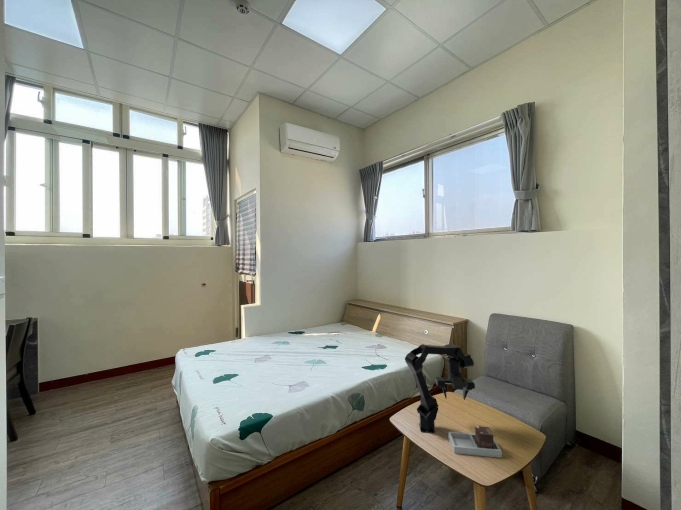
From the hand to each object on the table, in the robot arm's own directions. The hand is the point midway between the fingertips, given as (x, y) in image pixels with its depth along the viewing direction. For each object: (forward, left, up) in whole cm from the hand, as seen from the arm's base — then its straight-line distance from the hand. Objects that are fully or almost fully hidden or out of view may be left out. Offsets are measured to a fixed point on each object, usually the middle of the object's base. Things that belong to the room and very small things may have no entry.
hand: (454, 398), depth 143 cm
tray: (+3, -19, -12) cm, 23 cm away
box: (+8, -19, -11) cm, 24 cm away
